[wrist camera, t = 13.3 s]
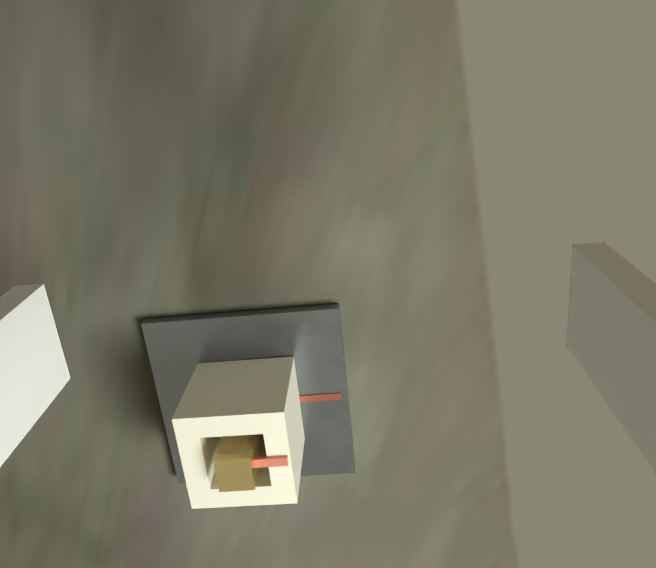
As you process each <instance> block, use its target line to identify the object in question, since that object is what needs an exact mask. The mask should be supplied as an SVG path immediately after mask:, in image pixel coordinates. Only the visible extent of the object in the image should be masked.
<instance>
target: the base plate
mask: <svg viewBox="0 0 656 568" xmlns="http://www.w3.org/2000/svg"><path fill="white" fill-rule="evenodd" d="M141 326H142V330H143V335H144V339H145V343H146V347H147V352H148V356H149V360H150V364H151V369H152V373H153V377H154V382H155V386H156V390H157V394H158V399H159V403H160V407H161V412H162V416H163V420H164V424H165V429H166V433H167V437H168V442H169V446H170V450H171V454H172V459H173V463H174V467H175V472H176V476H177V480H178V483H186V480H185V476H184V471H183V467H182V463H181V458H180V454H179V449H178V445H177V440H176V436H175V432H174V427H173V423H172V418H173V415H174V413H175V411H176V409H177V407H178V405H179V402H180V400H181V398H182V396H183V394H184V392H185V390H186V387H187V385H188V383H189V381H190V379H191V377H192V374H193V372H194V370H195V368H196V366H197V364H198V363H207V362H222V361H236V360H251V359H265V358H280V357H294V361H295V369H296V376H297V384H298V391H299V399H300V406H301V413H302V421H303V428H304V436H305V441H304V449H303V458H302V466H301V475H300V476H308V475H325V474H341V473H355V459H354V449H353V439H352V429H351V419H350V409H349V399H348V389H347V379H346V369H345V359H344V349H343V339H342V329H341V319H340V309H339V304H326V305H313V306H301V307H288V308H275V309H262V310H249V311H237V312H224V313H211V314H198V315H185V316H173V317H160V318H147V319H144V320H143V322H142V323H141ZM264 444H265V442H264V436H263V434H255V435H238V436H222V437H221V439H220V442H219V445H218V449H217V452H216V455H215V458H214V461H213V464H214V469H215V474H216V479H217V484H218V489H219V492H231V491H248V490H255V489H256V484H257V479H258V474H259V469H260V468H255V463H254V457H262V454H263V449H264Z"/></svg>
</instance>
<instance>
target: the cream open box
mask: <svg viewBox="0 0 656 568" xmlns="http://www.w3.org/2000/svg"><path fill="white" fill-rule="evenodd" d="M172 423H173V427H174V432H175V436H176V440H177V445H178V449H179V454H180V458H181V463H182V467H183V471H184V476H185V480H186V485H187V489H188V493H189V498H190V502H191V507H192V509H196V508H215V507H234V506H253V505H272V504H291V503H297V501H298V492H299V483H300V475H301V466H302V458H303V449H304V441H305V436H304V428H303V421H302V413H301V406H300V399H299V391H298V384H297V376H296V369H295V361H294V357H280V358H265V359H251V360H236V361H222V362H207V363H198V364H197V366H196V368H195V370H194V372H193V374H192V377H191V379H190V381H189V383H188V385H187V387H186V390H185V392H184V394H183V396H182V398H181V400H180V402H179V405H178V407H177V409H176V411H175V413H174V415H173V418H172ZM255 434H263V436H264V442H265V444H264V449H263V454H262V457H254V463H255V468H260V469H259V474H258V479H257V484H256V489H255V490H248V491H231V492H219V489H218V484H217V479H216V474H215V469H214V464H213V461H214V458H215V455H216V452H217V449H218V445H219V442H220V439H221V437H222V436H238V435H255Z"/></svg>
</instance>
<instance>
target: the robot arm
mask: <svg viewBox="0 0 656 568" xmlns="http://www.w3.org/2000/svg"><path fill="white" fill-rule="evenodd" d="M569 294H570V295H569V310H568V326H567V343H566V346H567V348H568V349H569V350H570V352H571V353H572V355H573V356H574V358H575V359H576V361H577V362H578V363H579V365H580V366H581V368H582V369H583V371H584V372H585V374H586V375H587V376H588V378H589V379H590V381H591V382H592V384H593V385H594V387H595V388H596V389H597V391H598V392H599V394H600V395H601V397H602V398H603V400H604V401H605V402H606V404H607V405H608V407H609V408H610V410H611V411H612V412H613V414H614V415H615V417H616V418H617V420H618V421H619V422H620V424H621V425H622V427H623V428H624V430H625V431H626V433H627V434H628V436H629V437H630V438H631V440H632V441H633V443H634V444H635V446H636V447H637V448H638V450H639V451H640V453H641V454H642V456H643V457H644V459H645V460H646V461H647V463H648V464H649V466H650V467H651V469H652V470H653V471H654V473H655V474H656V283H654V282H653V281H652V280H651V279H650V278H648V277H647V276H646V275H645V274H643V273H642V272H641V271H640V270H639V269H637V268H636V267H635V266H634V265H633V264H631V263H630V262H629V261H628V260H626V259H625V258H624V257H623V256H622V255H620V254H619V253H618V252H617V251H615V250H614V249H613V248H612V247H610V246H609V245H608V244H607V243H606V242H597V243H584V244H573V245H572V261H571V277H570V293H569ZM69 379H70V375H69V372H68V368H67V365H66V361H65V357H64V354H63V350H62V347H61V343H60V340H59V336H58V333H57V329H56V326H55V322H54V319H53V315H52V312H51V308H50V304H49V301H48V297H47V294H46V290H45V287H44V284H36V285H23V286H14V287H13V288H11V289H10V290H9V291H8V292H6V293H5V294H4V295H2V296H1V297H0V467H1V465H2V464H3V463H4V462H5V460H6V459H7V458H8V457H9V455H10V454H11V453H12V452H13V450H14V449H15V448H16V446H17V445H18V444H19V443H20V441H21V440H22V439H23V438H24V436H25V435H26V434H27V433H28V431H29V430H30V429H31V428H32V426H33V425H34V424H35V422H36V421H37V420H38V419H39V417H40V416H41V415H42V414H43V412H44V411H45V410H46V409H47V407H48V406H49V405H50V403H51V402H52V401H53V400H54V398H55V397H56V396H57V395H58V393H59V392H60V391H61V390H62V388H63V387H64V386H65V385H66V383H67V382H68V381H69Z"/></svg>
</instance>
